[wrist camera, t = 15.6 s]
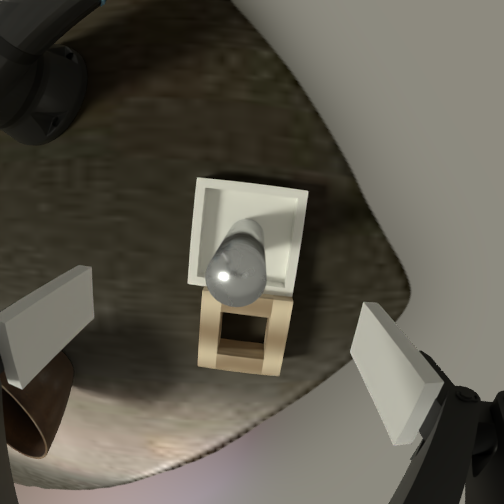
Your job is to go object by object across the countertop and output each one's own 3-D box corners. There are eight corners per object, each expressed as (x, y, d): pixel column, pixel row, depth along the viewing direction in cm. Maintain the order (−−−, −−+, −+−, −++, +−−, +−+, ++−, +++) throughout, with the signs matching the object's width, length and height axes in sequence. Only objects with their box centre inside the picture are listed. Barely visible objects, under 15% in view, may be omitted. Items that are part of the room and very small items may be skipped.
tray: (201, 177, 36) (197, 177, 33) (305, 190, 36) (308, 191, 33) (192, 277, 38) (187, 283, 36) (290, 289, 38) (292, 297, 36)
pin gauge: (230, 216, 36) (208, 244, 20) (266, 221, 36) (270, 252, 20) (227, 251, 37) (203, 302, 21) (261, 255, 37) (262, 310, 21)
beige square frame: (208, 279, 38) (202, 290, 34) (290, 289, 38) (293, 301, 34) (202, 350, 40) (197, 366, 37) (277, 359, 40) (279, 376, 37)
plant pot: (82, 413, 45) (42, 472, 29) (19, 364, 43) (-31, 410, 28) (104, 362, 42) (53, 428, 26) (31, 306, 40) (-34, 350, 25)
